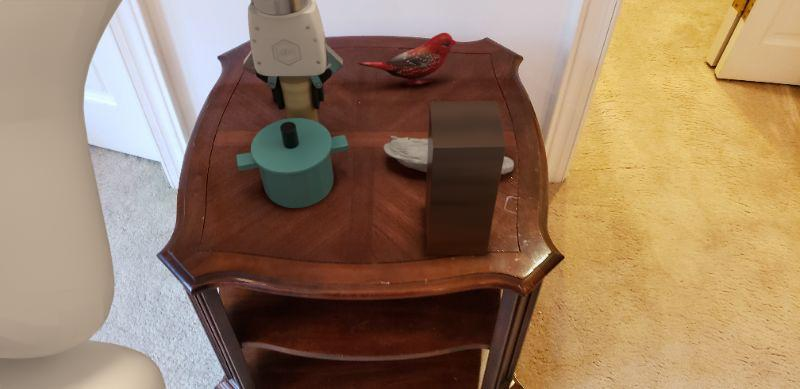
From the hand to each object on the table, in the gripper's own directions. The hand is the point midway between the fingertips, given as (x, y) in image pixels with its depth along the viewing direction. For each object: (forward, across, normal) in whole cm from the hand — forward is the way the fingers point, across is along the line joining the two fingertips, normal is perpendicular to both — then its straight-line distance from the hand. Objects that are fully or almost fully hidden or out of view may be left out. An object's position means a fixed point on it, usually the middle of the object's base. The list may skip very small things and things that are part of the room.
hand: (300, 103), depth 86 cm
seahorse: (+7, +23, -7) cm, 25 cm away
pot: (+7, 0, -10) cm, 12 cm away
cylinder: (+4, 0, 0) cm, 4 cm away
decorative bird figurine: (+8, +17, +14) cm, 23 cm away
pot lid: (0, 0, -10) cm, 10 cm away
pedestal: (+7, +23, -20) cm, 31 cm away
